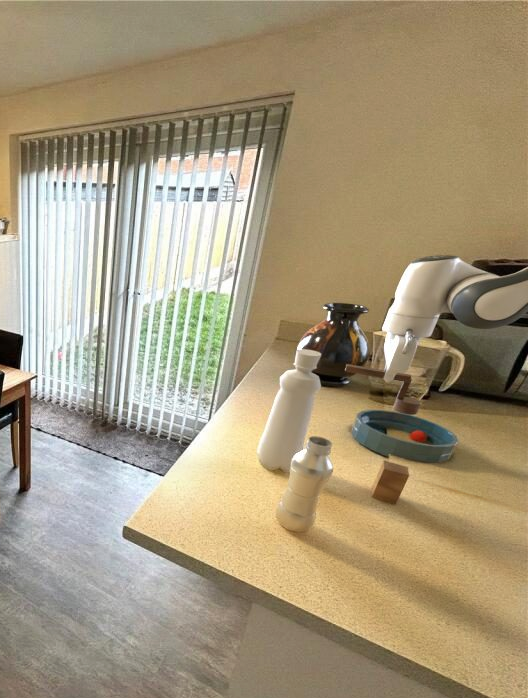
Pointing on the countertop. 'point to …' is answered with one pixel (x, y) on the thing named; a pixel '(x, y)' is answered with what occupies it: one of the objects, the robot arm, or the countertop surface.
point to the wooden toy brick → (390, 482)
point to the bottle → (290, 413)
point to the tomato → (418, 436)
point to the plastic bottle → (305, 485)
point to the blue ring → (374, 436)
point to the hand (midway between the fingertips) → (387, 378)
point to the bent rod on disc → (402, 402)
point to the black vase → (338, 343)
